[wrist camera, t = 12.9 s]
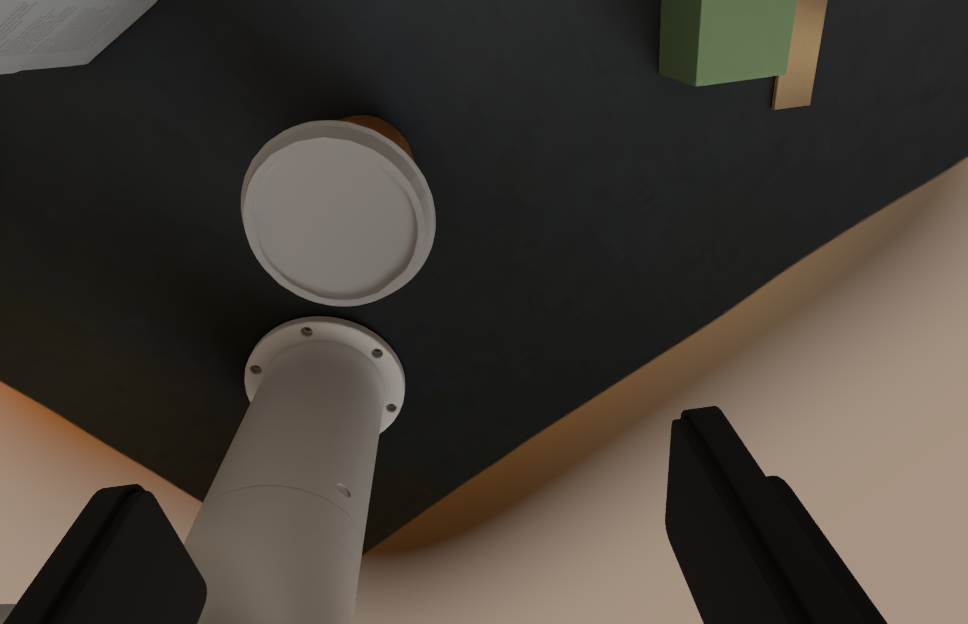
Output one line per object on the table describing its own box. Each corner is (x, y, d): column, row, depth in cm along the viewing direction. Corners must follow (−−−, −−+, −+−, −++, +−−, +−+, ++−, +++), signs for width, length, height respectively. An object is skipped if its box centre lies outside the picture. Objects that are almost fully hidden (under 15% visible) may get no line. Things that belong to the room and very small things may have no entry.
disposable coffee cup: (325, 57, 34) (272, 83, 23) (462, 135, 36) (470, 190, 26) (272, 191, 37) (206, 265, 27) (399, 252, 40) (384, 341, 30)
